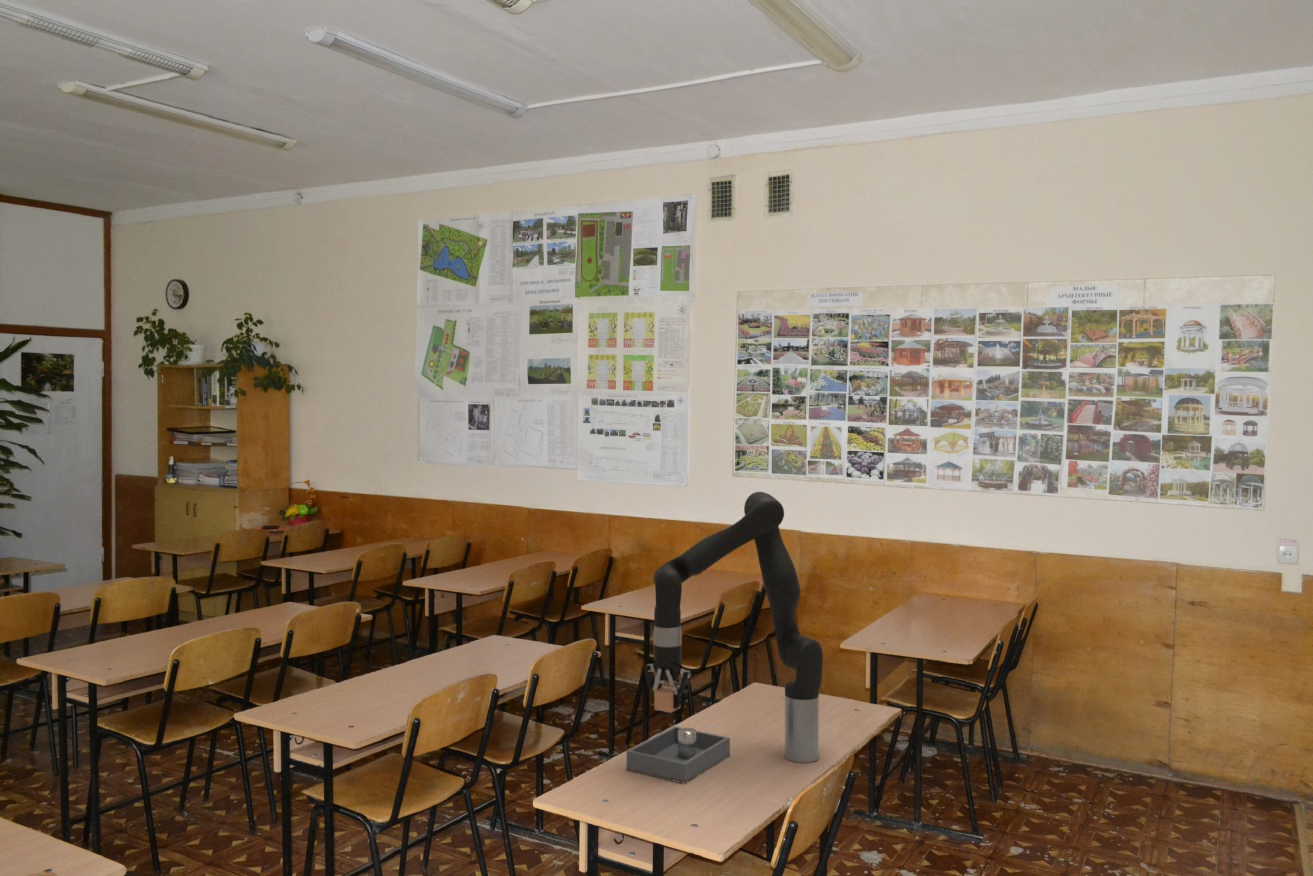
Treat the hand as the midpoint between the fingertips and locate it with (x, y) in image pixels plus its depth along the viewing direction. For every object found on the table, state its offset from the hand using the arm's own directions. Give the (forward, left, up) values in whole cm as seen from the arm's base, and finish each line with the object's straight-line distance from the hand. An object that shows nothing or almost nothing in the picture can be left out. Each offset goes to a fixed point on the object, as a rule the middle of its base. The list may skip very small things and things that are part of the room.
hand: (667, 706), depth 251 cm
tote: (-6, 0, -17) cm, 18 cm away
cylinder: (-10, 0, -16) cm, 19 cm away
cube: (0, 0, -1) cm, 1 cm away
